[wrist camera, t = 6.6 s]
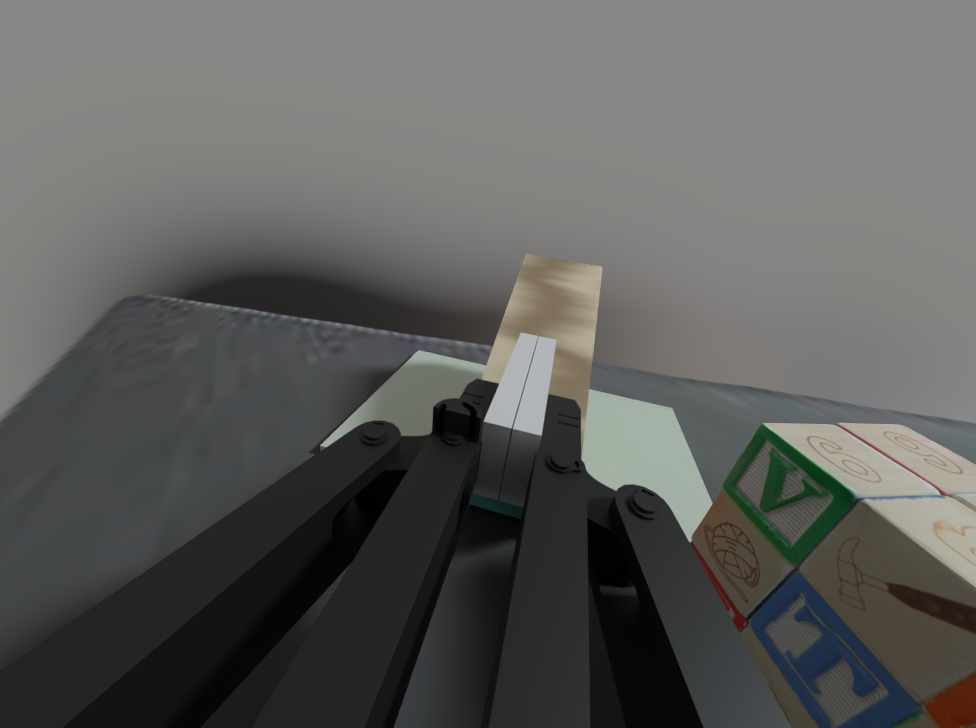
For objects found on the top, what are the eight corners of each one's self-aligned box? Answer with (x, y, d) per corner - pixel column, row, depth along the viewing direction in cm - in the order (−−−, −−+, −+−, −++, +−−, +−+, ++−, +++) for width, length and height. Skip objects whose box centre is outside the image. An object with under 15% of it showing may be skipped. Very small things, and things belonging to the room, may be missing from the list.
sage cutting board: (669, 414, 28) (672, 408, 28) (732, 573, 16) (738, 566, 16) (418, 356, 31) (418, 350, 31) (321, 453, 20) (319, 445, 19)
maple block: (554, 529, 17) (584, 322, 26) (577, 496, 13) (602, 266, 22) (458, 500, 18) (519, 309, 27) (452, 461, 14) (526, 253, 23)
